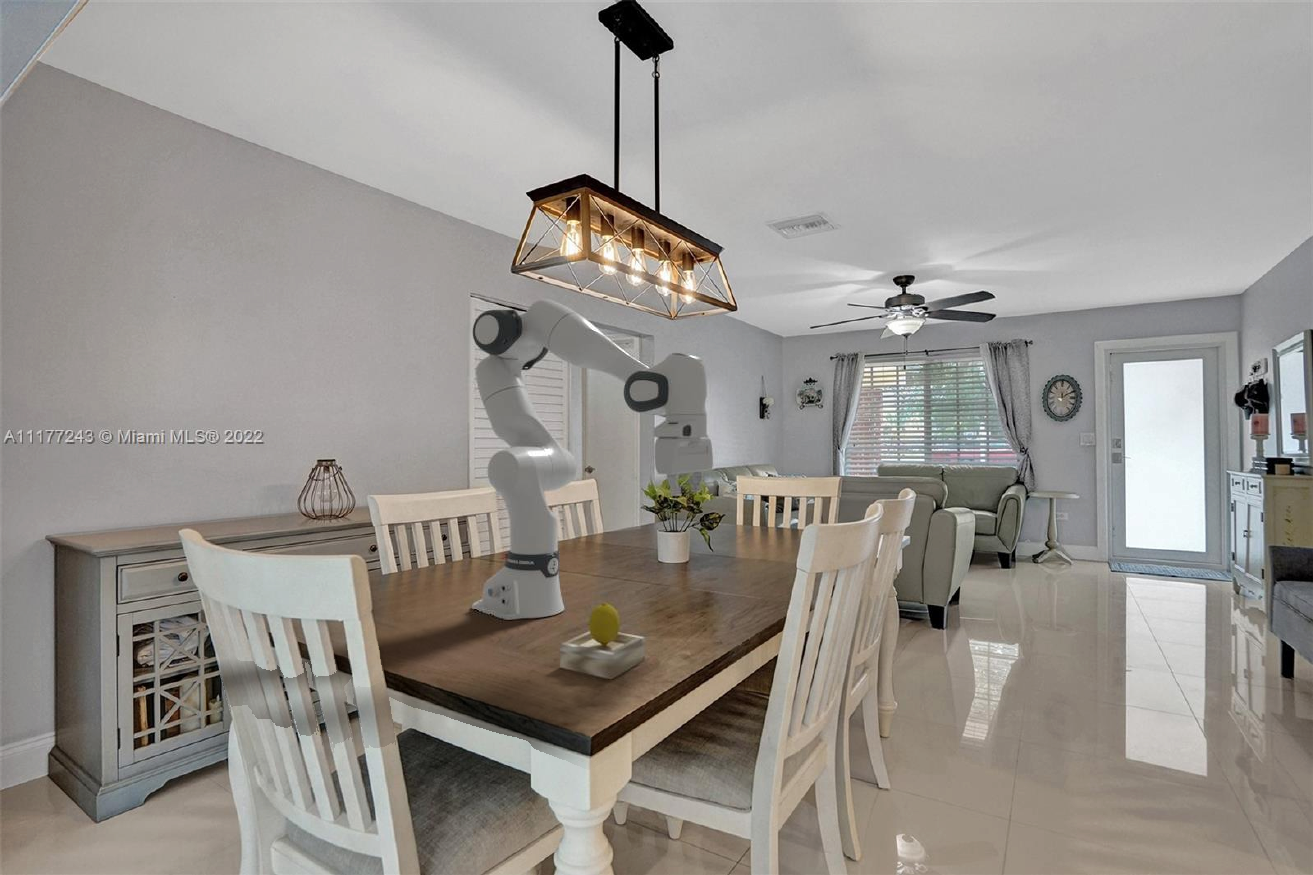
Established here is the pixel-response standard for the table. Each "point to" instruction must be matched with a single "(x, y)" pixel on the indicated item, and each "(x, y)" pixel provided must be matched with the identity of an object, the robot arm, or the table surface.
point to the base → (602, 654)
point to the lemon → (604, 624)
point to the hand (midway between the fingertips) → (686, 493)
